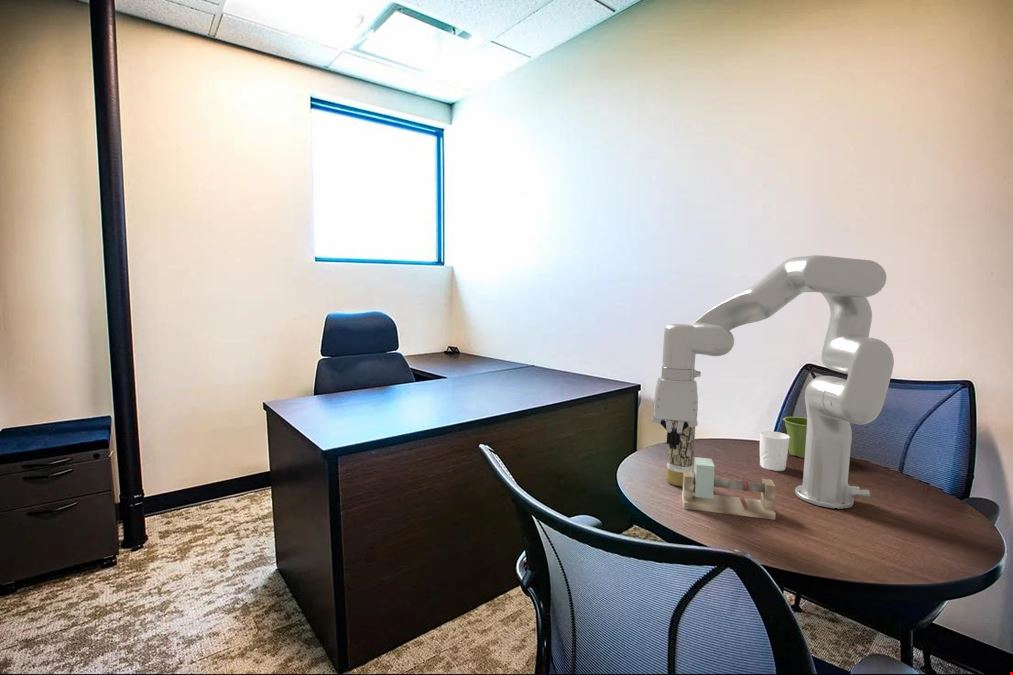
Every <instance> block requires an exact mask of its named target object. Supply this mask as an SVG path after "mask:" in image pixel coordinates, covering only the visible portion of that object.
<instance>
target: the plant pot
mask: <svg viewBox="0 0 1013 675" xmlns="http://www.w3.org/2000/svg"><path fill="white" fill-rule="evenodd" d="M782 420H783V421H784V423H785V429H786V435H788V436H790V440H789V448H788V454H790V455H791V456H793V457H794V456H796V457H798V458H801V459H805V446H806V433H807V417H803V416H802V417H799V416H786V417H783V419H782Z"/></svg>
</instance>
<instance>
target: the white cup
mask: <svg viewBox="0 0 1013 675" xmlns="http://www.w3.org/2000/svg"><path fill="white" fill-rule="evenodd" d="M789 440H790V436H788V435H787V433H783V432H779V431H773V430H765V431H763V430H762V431H760V432H759V466H760V467H762V468H763V469H765V470H769V471H774V472H775V471H776V472H783V471H785V470H786V467H787V460H788V455H789Z"/></svg>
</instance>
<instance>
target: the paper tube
mask: <svg viewBox="0 0 1013 675" xmlns="http://www.w3.org/2000/svg"><path fill="white" fill-rule="evenodd" d="M677 422H678V421H672V420H671V427H672V429H673V433H674V431H675V428H676V426H677ZM695 437H696V426H695V427H687V428H686V429H685V430H684V431H682V433H680V444H679V445H677V448H676V449H674V448H672V449H670V448H669V444H667V454H666V455H667V456H666V457H667V459H666V481H667V483H668V484H670V485H672V486H676V487H681V488H683V473H684V471H692V473H693V474H694V458H695V440H696V438H695Z"/></svg>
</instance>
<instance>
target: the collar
mask: <svg viewBox="0 0 1013 675" xmlns="http://www.w3.org/2000/svg"><path fill="white" fill-rule="evenodd" d="M693 476H696V479H695V485H694V484H693V492H694V494H695V497H702V498H711V499H713V495H714V488H715V487H714V478H715V464H714V461H713V459H712V458H709V457H708V458H707V457H696V456H694V463H693Z"/></svg>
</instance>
